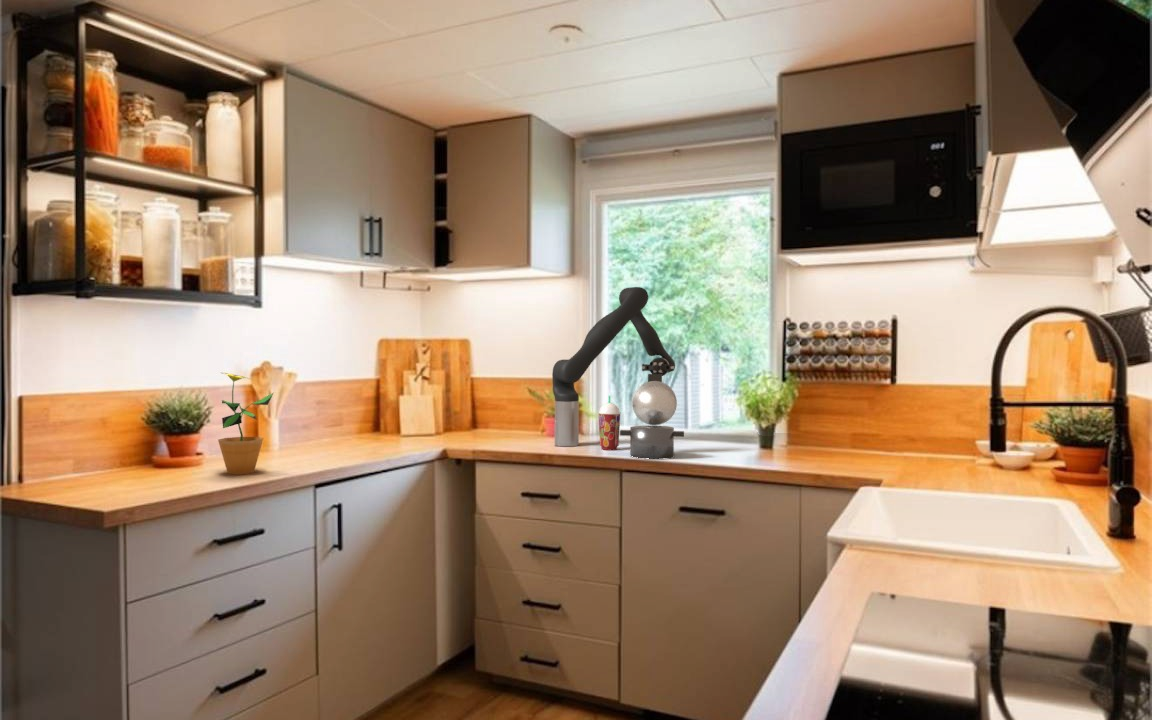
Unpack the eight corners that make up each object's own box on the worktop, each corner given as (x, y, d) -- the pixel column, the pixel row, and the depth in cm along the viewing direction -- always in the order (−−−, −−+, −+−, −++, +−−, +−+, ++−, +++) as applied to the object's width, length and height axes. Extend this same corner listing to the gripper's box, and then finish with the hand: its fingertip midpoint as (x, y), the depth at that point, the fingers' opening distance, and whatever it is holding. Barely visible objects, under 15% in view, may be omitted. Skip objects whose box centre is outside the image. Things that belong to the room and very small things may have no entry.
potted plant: (248, 478, 218) (248, 372, 218) (193, 475, 223) (193, 372, 223) (287, 469, 235) (287, 371, 235) (236, 466, 241) (236, 370, 240)
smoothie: (625, 449, 287) (625, 395, 286) (610, 451, 280) (610, 396, 280) (608, 447, 292) (608, 394, 292) (593, 449, 286) (593, 395, 286)
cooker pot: (623, 452, 278) (623, 424, 278) (684, 453, 275) (684, 425, 274) (617, 458, 262) (617, 429, 262) (683, 460, 258) (683, 430, 258)
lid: (631, 424, 277) (632, 425, 279) (676, 425, 274) (676, 425, 276) (633, 373, 281) (633, 374, 283) (677, 373, 279) (677, 375, 281)
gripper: (642, 357, 306) (638, 358, 289) (676, 357, 303) (674, 357, 286) (642, 376, 306) (638, 378, 289) (676, 376, 303) (674, 378, 286)
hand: (656, 368), depth 287 cm, fingers closed
